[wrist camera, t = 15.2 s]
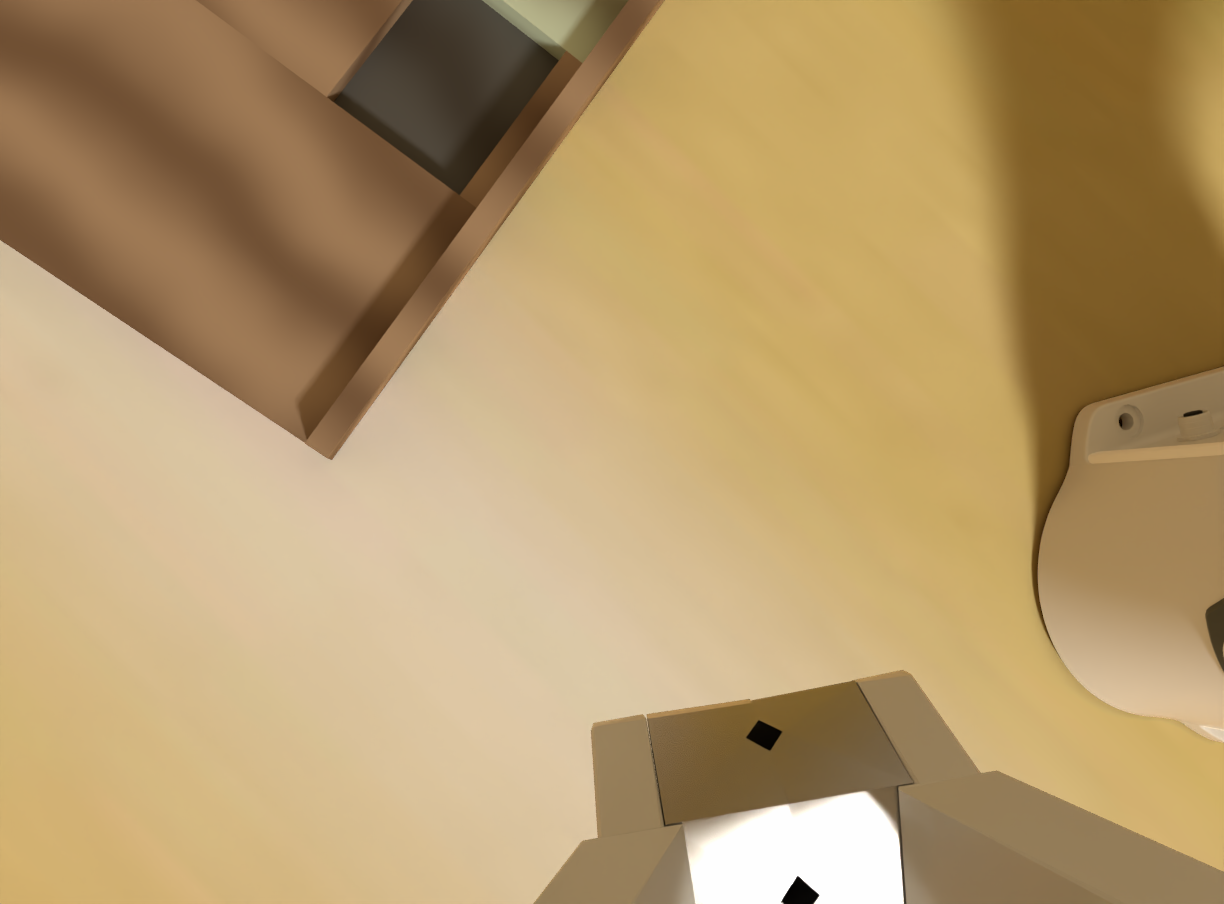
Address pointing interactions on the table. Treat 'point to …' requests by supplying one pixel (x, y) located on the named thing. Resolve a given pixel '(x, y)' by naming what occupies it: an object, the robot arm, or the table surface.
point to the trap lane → (286, 169)
